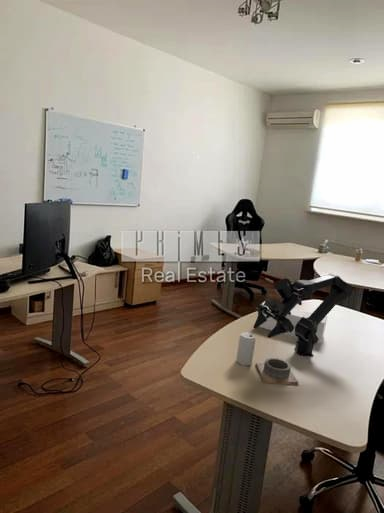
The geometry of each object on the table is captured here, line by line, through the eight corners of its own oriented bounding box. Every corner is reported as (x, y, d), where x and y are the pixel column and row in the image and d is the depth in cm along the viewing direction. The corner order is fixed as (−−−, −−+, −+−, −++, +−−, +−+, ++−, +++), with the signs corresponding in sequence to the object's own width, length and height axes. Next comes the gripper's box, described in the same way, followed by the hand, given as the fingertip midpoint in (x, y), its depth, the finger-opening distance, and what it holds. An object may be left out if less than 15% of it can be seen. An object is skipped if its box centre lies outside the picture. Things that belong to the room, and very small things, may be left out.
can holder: (286, 367, 155) (288, 356, 154) (298, 384, 142) (300, 373, 141) (255, 365, 153) (257, 354, 152) (264, 382, 141) (265, 371, 140)
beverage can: (251, 367, 151) (255, 339, 148) (235, 364, 152) (239, 336, 149) (252, 360, 157) (256, 333, 154) (236, 357, 158) (240, 330, 156)
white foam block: (323, 336, 192) (327, 316, 189) (320, 344, 182) (324, 323, 180) (261, 320, 204) (264, 301, 202) (255, 326, 195) (259, 306, 193)
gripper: (263, 285, 162) (238, 311, 159) (293, 300, 146) (266, 330, 143) (274, 302, 167) (250, 327, 164) (305, 318, 151) (279, 347, 148)
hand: (260, 332), depth 155 cm, fingers open, 9 cm apart
